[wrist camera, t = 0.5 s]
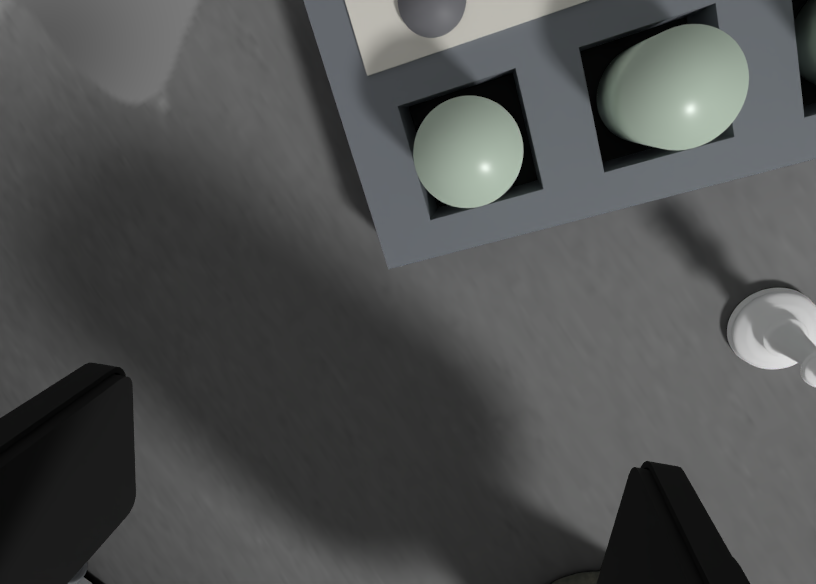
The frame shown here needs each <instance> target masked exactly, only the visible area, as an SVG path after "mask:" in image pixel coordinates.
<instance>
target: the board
mask: <svg viewBox="0 0 816 584" xmlns="http://www.w3.org/2000/svg"><path fill="white" fill-rule="evenodd" d="M303 1H304V4H305V7H306V10H307V13H308V17H309V20H310V23H311V26H312V29H313V32H314V36H315V39H316V42H317V45H318V48H319V51H320V54H321V58H322V61H323V64H324V67H325V70H326V73H327V77H328V80H329V83H330V86H331V89H332V92H333V96H334V99H335V102H336V105H337V108H338V111H339V114H340V118H341V121H342V124H343V127H344V130H345V133H346V137H347V140H348V143H349V146H350V149H351V152H352V156H353V159H354V162H355V165H356V168H357V171H358V174H359V178H360V181H361V184H362V187H363V190H364V193H365V197H366V200H367V203H368V206H369V209H370V212H371V216H372V219H373V222H374V225H375V228H376V231H377V234H378V238H379V241H380V244H381V247H382V250H383V253H384V257H385V260H386V263H387V266H388V269H391V268H395V267H399V266H403V265H407V264H411V263H415V262H418V261H422V260H426V259H430V258H434V257H438V256H442V255H445V254H449V253H453V252H457V251H461V250H465V249H469V248H473V247H476V246H480V245H484V244H488V243H492V242H496V241H500V240H503V239H507V238H511V237H515V236H519V235H523V234H527V233H530V232H534V231H538V230H542V229H546V228H550V227H554V226H558V225H561V224H565V223H569V222H573V221H577V220H581V219H585V218H588V217H592V216H596V215H600V214H604V213H608V212H612V211H616V210H619V209H623V208H627V207H631V206H635V205H639V204H643V203H646V202H650V201H654V200H658V199H662V198H666V197H670V196H673V195H677V194H681V193H685V192H689V191H693V190H697V189H701V188H704V187H708V186H712V185H716V184H720V183H724V182H728V181H731V180H735V179H739V178H743V177H747V176H751V175H755V174H759V173H762V172H766V171H770V170H774V169H778V168H782V167H786V166H789V165H793V164H797V163H801V162H805V161H809V160H813V159H816V103H813V104H809V105H806V106H803V100H802V91H801V82H800V72H799V63H798V54H797V45H796V35H795V26H794V17H793V7H792V0H303ZM685 17H686V18H687V24H703V25H709V26H712V27H715V28H718V29H720V30H722V31H724V32H725V33H727V34H728V35H729V36H731V37H732V38H733V39H734V40H735V41H736V42H737V44H738V45H739V46H740V48H741V50H742V51H743V53H744V55H745V58H746V61H747V65H748V70H749V85H748V91H747V96H746V99H745V101H744V104H743V106H742V108H741V110H740V112H739V114H738V115H737V117H736V118H735V120H734V121H733V122H732V123H731V125H730V126H729V127H728V128H727V129H726V130H725V131H724V132H723V133H721V134H720V135H719V136H718V137H716V138H714V139H713V140H711V141H710V142H708V143H706V144H703V145H701V146H698V147H695V148H692V149H687V150H666V149H661V148H656V147H655V148H651V149H648V150H644V151H640V152H637V153H633V154H630V155H626V156H622V157H619V158H615V159H612V160H608V161H605V162H602V159H601V154H600V149H599V144H598V139H597V134H596V129H595V124H594V119H593V114H592V110H591V105H590V100H589V95H588V90H587V85H586V80H585V75H584V70H583V65H582V60H581V55H580V51H583V50H586V49H589V48H592V47H595V46H598V45H601V44H605V43H608V42H611V41H614V40H617V39H620V38H623V37H626V36H629V35H632V34H636V33H639V32H642V31H645V30H648V29H651V28H654V27H657V26H660V25H663V24H666V23H670V22H673V21H676V20H679V19H682V18H685ZM512 73H513V77H514V81H515V85H516V89H517V94H518V98H519V102H520V106H521V111H522V115H523V119H524V123H525V128H526V132H527V136H528V141H529V145H530V149H531V153H532V158H533V162H534V166H535V170H536V175H537V179H538V180H536V181H533V182H529V183H525V184H522V185H518V186H515V187H511V188H509V189H508V190H507V192H505V193H504V194H503V195H502V196H501V197H499V198H498V199H496V200H495V201H493V202H491V203H489V204H487V205H484V206H480V207H475V208H459V207H454V206H451V205H446V206H443V207H439V208H437V204H436V201H435V197H434V196H433V195H432V194H430V193H429V192H428V190H427V189H426V188H425V187H424V185H423V184H422V182H421V181H420V179H419V177H418V175H417V172H416V169H415V164H414V157H413V148H414V141H415V138H416V131H415V127H414V124H413V120H412V117H411V113H410V110H409V107H410V106H413V105H416V104H419V103H422V102H425V101H428V100H431V99H434V98H437V97H440V96H444V95H447V94H450V93H453V92H456V91H459V90H462V89H465V88H468V87H471V86H475V85H478V84H481V83H484V82H487V81H490V80H493V79H496V78H499V77H502V76H506V75H509V74H512Z"/></svg>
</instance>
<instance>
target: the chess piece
mask: <svg viewBox="0 0 816 584" xmlns="http://www.w3.org/2000/svg"><path fill="white" fill-rule="evenodd" d="M727 338H728V342H729V345H730V347H731V349H732V350H733V351H734V353H735V354H736V355H737V356H738V357H740V358H741V359H742V360H744V361H746V362H747V363H749V364H751V365H753V366H756V367H759V368H763V369H782V368H786V367H790V366H792V365H795V364H797V363H799V364H801V368H800V373H801V376H802V378H803V380H804V381H805V382H806V383H807V384H809V385H811V386H813V387H816V305H815V304H814V303H813V302H812V301H811V300H810V299H809V298H808V297H807V296H805V295H804V294H802V293H800V292H798V291H796V290H793V289H789V288H769V289H764V290H761V291H758V292H756V293H754V294H752V295H750V296H748V297H747V298H745V299H744V300H743V301H742V302H741V303H740V304H739V305H738V306H737V307H736V308H735V309H734V311H733V312H732V314H731V316H730V318H729V321H728V325H727Z"/></svg>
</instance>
